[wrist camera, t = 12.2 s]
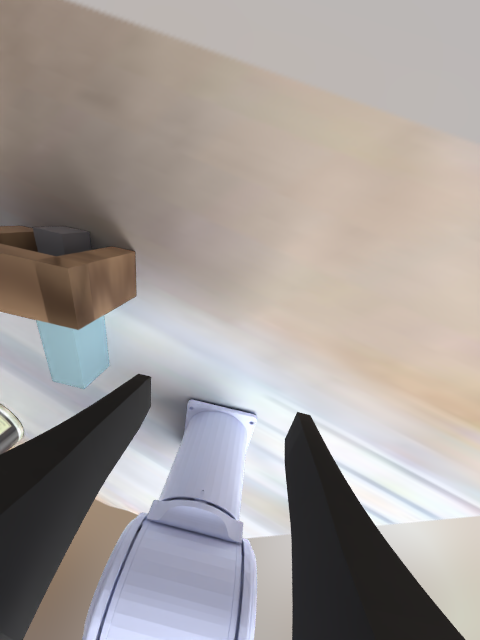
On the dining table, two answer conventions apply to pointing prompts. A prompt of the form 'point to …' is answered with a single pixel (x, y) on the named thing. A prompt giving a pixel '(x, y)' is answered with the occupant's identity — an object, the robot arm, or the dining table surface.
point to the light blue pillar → (66, 343)
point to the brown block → (62, 280)
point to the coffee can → (9, 429)
